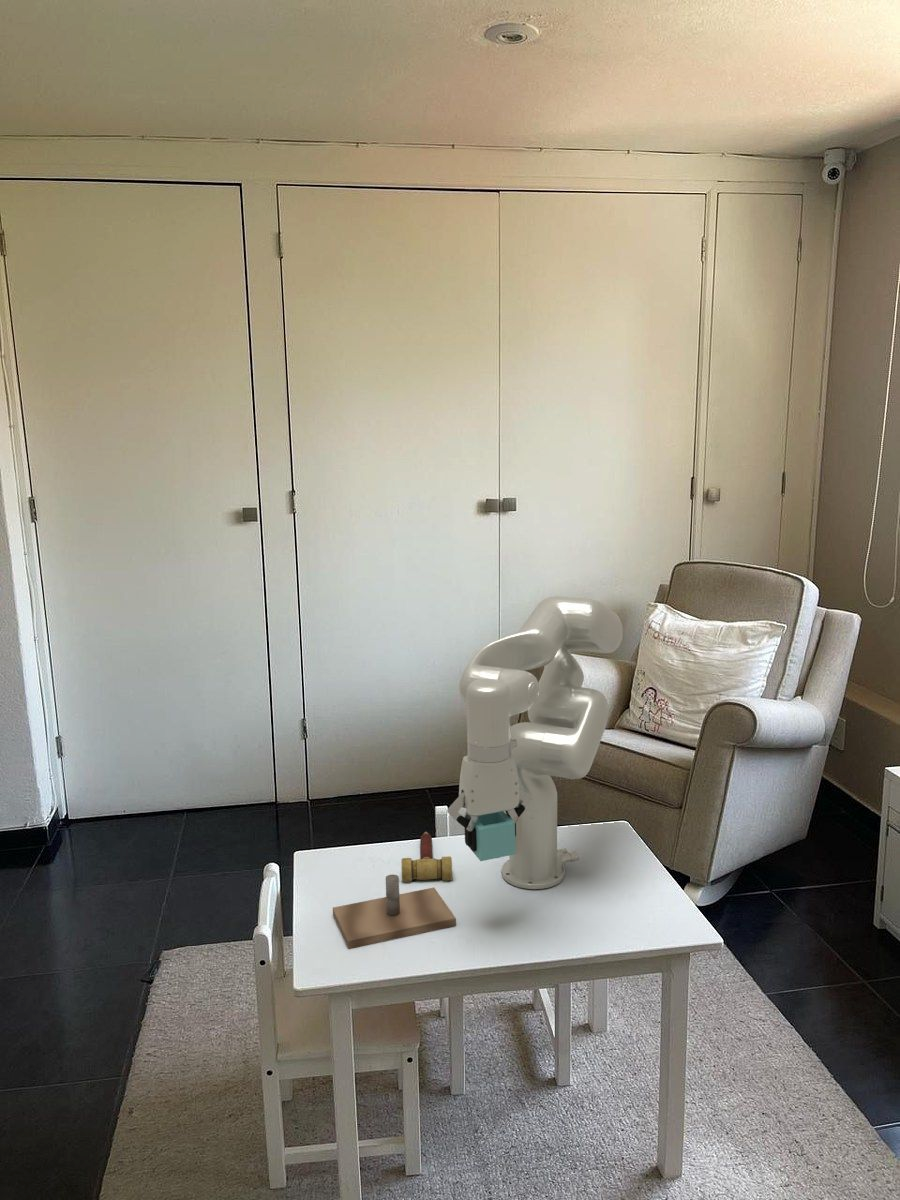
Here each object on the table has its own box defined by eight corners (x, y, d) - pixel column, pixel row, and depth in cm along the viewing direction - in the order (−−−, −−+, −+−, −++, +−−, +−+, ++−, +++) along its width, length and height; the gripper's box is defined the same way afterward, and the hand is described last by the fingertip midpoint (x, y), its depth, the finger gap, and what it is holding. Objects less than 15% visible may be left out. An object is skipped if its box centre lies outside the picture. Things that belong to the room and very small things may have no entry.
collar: (500, 838, 170) (500, 807, 169) (515, 854, 164) (514, 822, 163) (467, 844, 168) (466, 814, 166) (480, 861, 162) (479, 829, 160)
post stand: (434, 894, 179) (433, 853, 178) (455, 925, 168) (455, 882, 166) (332, 914, 173) (330, 872, 171) (348, 948, 162) (346, 904, 160)
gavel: (402, 824, 204) (448, 822, 204) (403, 844, 204) (448, 842, 204) (401, 863, 183) (451, 862, 183) (402, 885, 183) (452, 884, 184)
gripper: (525, 735, 168) (526, 827, 172) (435, 750, 162) (438, 844, 166) (543, 749, 161) (543, 844, 165) (449, 765, 155) (452, 863, 159)
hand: (490, 843), depth 166 cm, fingers closed on collar, 6 cm apart
